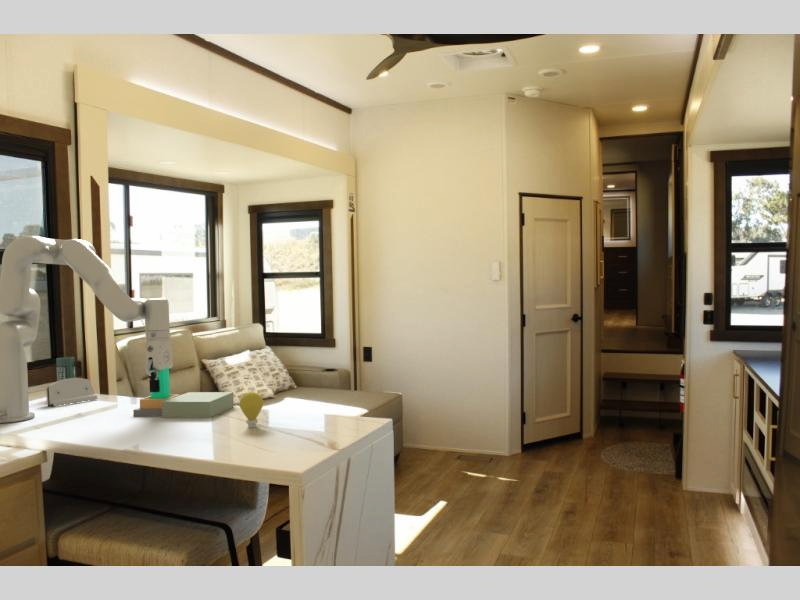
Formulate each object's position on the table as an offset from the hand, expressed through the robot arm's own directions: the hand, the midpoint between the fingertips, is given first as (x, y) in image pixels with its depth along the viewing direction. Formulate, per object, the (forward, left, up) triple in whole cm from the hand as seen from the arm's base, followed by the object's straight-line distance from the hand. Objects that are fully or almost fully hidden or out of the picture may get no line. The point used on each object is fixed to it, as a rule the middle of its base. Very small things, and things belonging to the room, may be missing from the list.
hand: (159, 389), depth 217 cm
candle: (0, 0, -3) cm, 3 cm away
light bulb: (-21, -40, -8) cm, 46 cm away
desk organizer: (0, -8, -7) cm, 11 cm away
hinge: (+17, +44, -8) cm, 48 cm away
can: (+29, +55, -8) cm, 63 cm away
